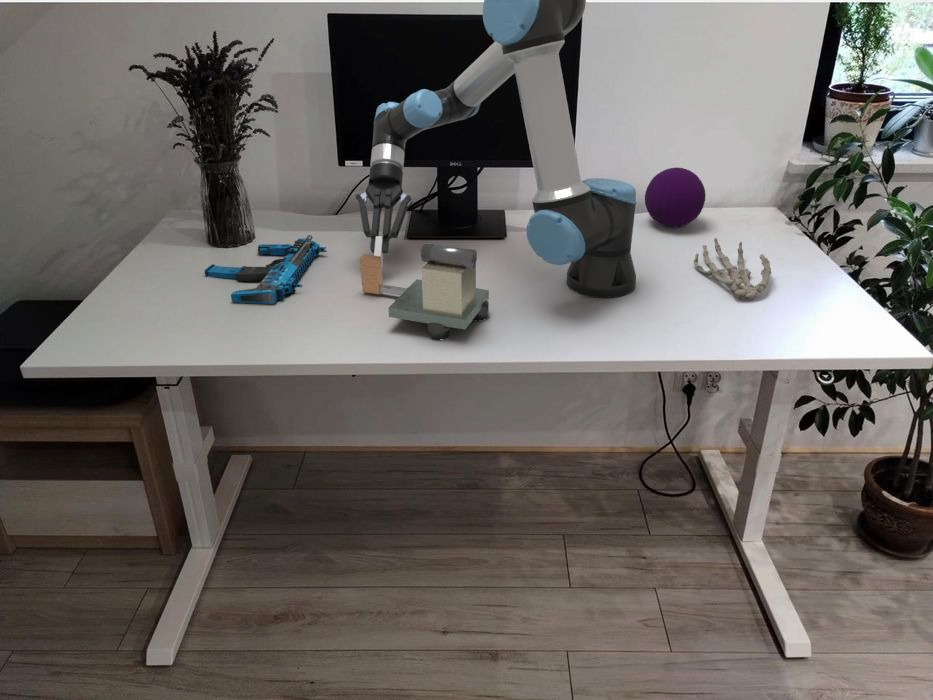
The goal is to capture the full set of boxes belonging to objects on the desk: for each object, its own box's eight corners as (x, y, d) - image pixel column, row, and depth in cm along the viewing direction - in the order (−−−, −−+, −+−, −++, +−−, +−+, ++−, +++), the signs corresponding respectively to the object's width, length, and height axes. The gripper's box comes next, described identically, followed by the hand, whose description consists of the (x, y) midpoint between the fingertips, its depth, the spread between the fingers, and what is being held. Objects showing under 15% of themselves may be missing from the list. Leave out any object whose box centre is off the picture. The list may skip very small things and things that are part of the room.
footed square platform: (491, 312, 163) (492, 233, 154) (467, 345, 151) (466, 262, 142) (417, 300, 168) (414, 223, 159) (388, 331, 156) (382, 250, 148)
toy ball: (679, 240, 196) (686, 182, 188) (630, 225, 205) (635, 168, 198) (712, 225, 204) (721, 168, 197) (664, 211, 214) (670, 156, 206)
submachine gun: (238, 231, 198) (334, 229, 194) (241, 245, 199) (337, 243, 196) (179, 290, 168) (292, 289, 165) (183, 306, 170) (295, 306, 167)
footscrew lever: (431, 296, 169) (430, 260, 165) (423, 305, 165) (421, 269, 161) (369, 286, 174) (366, 251, 169) (359, 295, 170) (356, 260, 166)
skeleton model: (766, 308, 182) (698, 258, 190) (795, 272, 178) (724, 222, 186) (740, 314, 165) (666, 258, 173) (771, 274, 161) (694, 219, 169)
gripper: (417, 177, 183) (409, 272, 177) (361, 176, 184) (352, 271, 178) (412, 161, 176) (404, 260, 170) (355, 160, 177) (344, 258, 171)
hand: (377, 265), depth 174 cm, fingers closed
